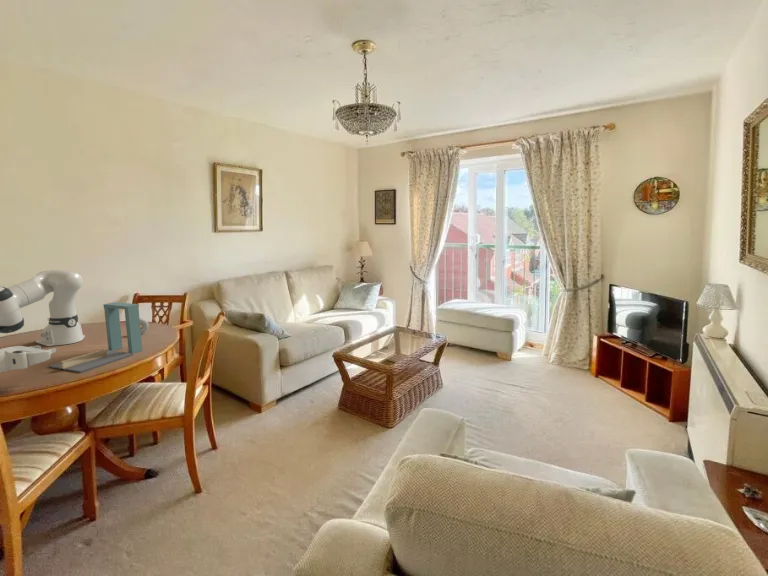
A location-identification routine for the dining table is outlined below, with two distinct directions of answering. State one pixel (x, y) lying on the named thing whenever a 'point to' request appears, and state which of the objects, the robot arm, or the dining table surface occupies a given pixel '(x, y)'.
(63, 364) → the stick
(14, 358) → the robot arm
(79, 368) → the mat
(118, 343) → the teal arch
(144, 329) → the donut
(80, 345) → the dining table surface
